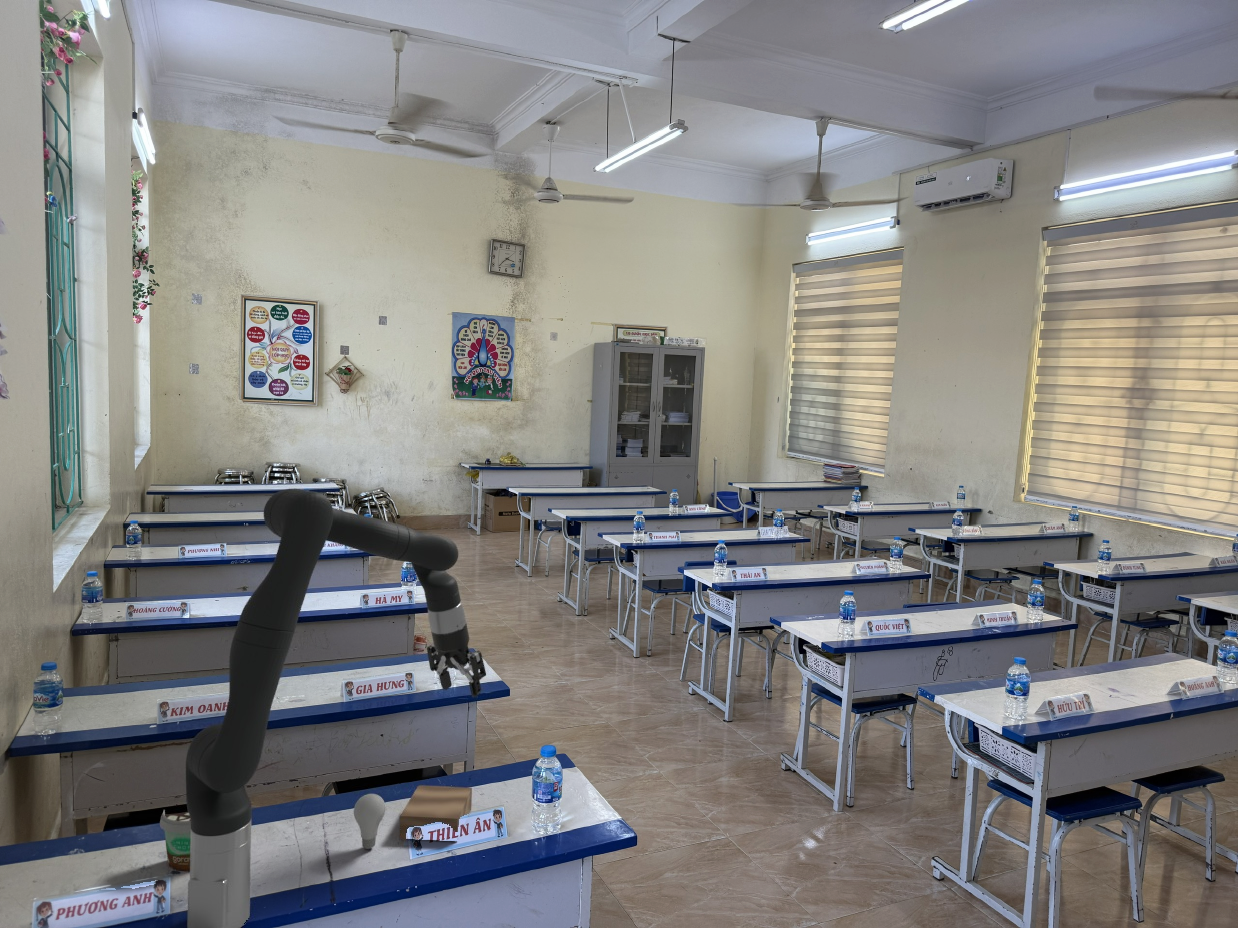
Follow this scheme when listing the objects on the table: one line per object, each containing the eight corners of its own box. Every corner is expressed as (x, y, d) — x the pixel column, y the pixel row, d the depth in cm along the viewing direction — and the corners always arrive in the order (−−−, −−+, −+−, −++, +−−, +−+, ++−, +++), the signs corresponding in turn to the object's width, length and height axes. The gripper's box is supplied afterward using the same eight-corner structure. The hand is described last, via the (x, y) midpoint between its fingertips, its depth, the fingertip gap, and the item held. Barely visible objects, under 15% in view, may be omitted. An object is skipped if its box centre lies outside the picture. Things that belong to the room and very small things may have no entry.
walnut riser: (457, 842, 162) (457, 818, 162) (399, 839, 163) (399, 815, 163) (471, 809, 176) (471, 787, 176) (418, 806, 177) (418, 785, 176)
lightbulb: (353, 842, 161) (354, 789, 160) (384, 838, 163) (385, 786, 162) (352, 858, 155) (353, 803, 155) (384, 854, 157) (386, 800, 156)
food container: (150, 878, 146) (151, 825, 145) (160, 860, 152) (160, 809, 151) (223, 870, 149) (224, 819, 149) (230, 853, 155) (231, 803, 155)
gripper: (411, 627, 169) (426, 694, 173) (461, 636, 161) (474, 706, 165) (436, 612, 175) (449, 677, 179) (485, 620, 167) (497, 688, 171)
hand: (461, 691), depth 172 cm, fingers open, 8 cm apart
